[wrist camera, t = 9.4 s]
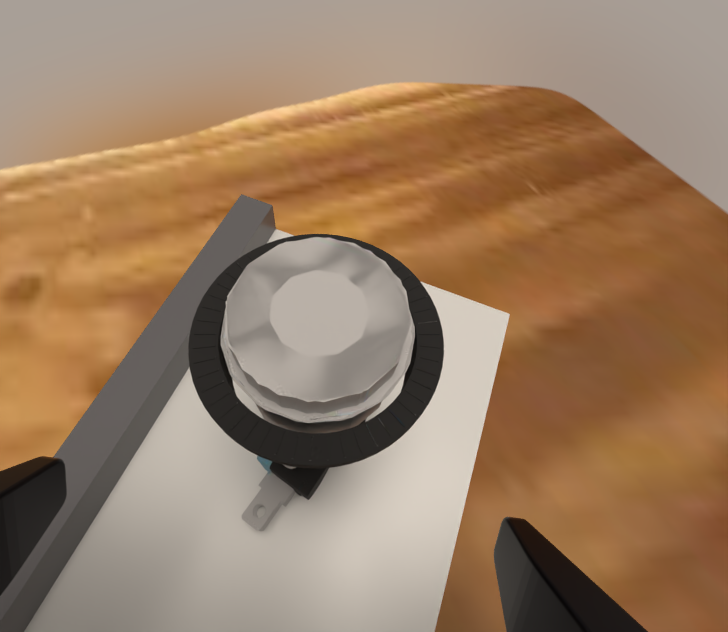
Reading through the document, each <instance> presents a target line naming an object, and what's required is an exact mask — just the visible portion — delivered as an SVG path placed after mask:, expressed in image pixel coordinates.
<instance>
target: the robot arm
mask: <svg viewBox="0 0 728 632" xmlns="http://www.w3.org/2000/svg"><path fill="white" fill-rule="evenodd" d="M66 497H67V482H66V467H65V463H64V461H63V460H62V459H60V458H53V457H44V456H42V457H37V458H35V459H32V460H29V461H27V462H24V463H21V464H19V465H16V466H13V467H11V468H8V469H5V470H3V471H0V596H1V595H2V593H3V592H4V591H5V590H6V588H7V587H8V586H9V584H10V583H11V582H12V580H13V579H14V578H15V576H16V575H17V573H18V572H19V571H20V569H21V568H22V566H23V565H24V563H25V562H26V560H27V559H28V557H29V556H30V554H31V553H32V551H33V550H34V548H35V547H36V545H37V544H38V542H39V541H40V539H41V538H42V536H43V535H44V533H45V532H46V530H47V529H48V527H49V526H50V524H51V523H52V521H53V520H54V518H55V517H56V515H57V514H58V512H59V511H60V509H61V508H62V506H63V505H64V503H65V500H66ZM494 562H495V568H496V574H497V579H498V585H499V591H500V597H501V602H502V608H503V614H504V620H505V625H506V631H507V632H648V631H647V630H646V629H644V628H643V627H642V626H641V625H640V624H639V623H638V622H637V621H636V620H635V619H633V618H632V617H631V616H630V615H629V614H628V613H627V612H626V611H625V610H624V609H623V608H621V607H620V606H619V605H618V604H617V603H616V602H615V601H614V600H613V599H612V598H611V597H609V596H608V595H607V594H606V593H605V592H604V591H603V590H602V589H601V588H600V587H599V586H597V585H596V584H595V583H594V582H593V581H592V580H591V579H590V578H589V577H588V576H586V575H585V574H584V573H583V572H582V571H581V570H580V569H579V568H578V567H577V566H576V565H574V564H573V563H572V562H571V561H570V560H569V559H568V558H567V557H566V556H565V555H564V554H562V553H561V552H560V551H559V550H558V549H557V548H556V547H555V546H554V545H553V544H551V543H550V542H549V541H548V540H547V539H546V538H545V537H544V536H543V535H542V534H541V533H539V532H538V531H537V530H536V529H535V528H534V527H533V526H532V525H531V524H530V523H529V522H527V521H526V520H524V519H521V518H513V517H506V518H504V519H503V521H502V523H501V527H500V530H499V534H498V537H497V541H496V545H495V549H494Z"/></svg>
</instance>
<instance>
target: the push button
mask: <svg viewBox="0 0 728 632" xmlns="http://www.w3.org/2000/svg"><path fill="white" fill-rule="evenodd" d="M188 357H189V366H190V372H191V376H192V380H193V384H194V386H195V389H196V391H197V394H198V396H199V398H200V400H201V402H202V404H203V406H204V407H205V409H206V410H207V412H208V413H209V414H210V416H211V417H212V419H213V420H214V421H215V422H216V423H217V424H218V426H219V427H220V428H221V429H222V430H223V431H224V432H225V433H226V434H227V435H228V436H229V437H230V438H232V439H233V440H234V441H235V442H236V443H238V444H239V445H241V446H242V447H244V448H245V449H247V450H248V451H250V452H252V453H254V454H256V455H258V456H257V460H258V461H259V462H260V463H261V465H262V466H263V467H264V469H265V470H267V471H268V473H267V474H266V475H265V477H264V478H263V479H262V481H261V482H260V483H259V485H258V486H260V487H261V489H260V491H259V492H258V494H257V495H256V496H255V498H254V499H253V500H252V502H251V503H250V504H249V506H248V507H247V508H246V510H245V511H244V512H243V514H242V520H244V521H245V522H246V523H248V524H249V525H250V526H251V527H253V528H254V529H255V530H256V531H258V530H259V531H264V530H265V528H266V527H267V526H268V524H269V523H270V521H271V520H272V518H273V517H274V516H275V514H276V513H277V511H278V510H279V508H280V507H281V506H282V505H284V506H285V507H286V506H287V504H288V503H289V502H290V500H291V499H292V497H293V496H294V494H295V493H297V494H298V495H300V496H303V497H305V498H306V499H307V500H309V499H310V498H311V497H312V495H313V494H314V493H315V491H316V490H317V488H318V487H319V485H320V484H321V482H322V480H323V478H324V477H325V475H326V473H327V471H328V469H329V468H332V467H338V466H343V465H348V464H352V463H355V462H358V461H361V460H364V459H366V458H368V457H371V456H373V455H375V454H377V453H379V452H380V451H382V450H384V449H386V448H387V447H389V446H390V445H392V444H393V443H394V442H396V441H397V440H398V439H400V438H401V437H402V436H403V435H404V434H405V433H406V432H407V431H408V430H409V429H410V428H411V427H412V426H413V425H414V423H415V422H416V421H417V420H418V419H419V417H420V416H421V415H422V413H423V412H424V410H425V409H426V407H427V406H428V404H429V403H430V401H431V399H432V397H433V395H434V393H435V390H436V388H437V385H438V382H439V379H440V375H441V371H442V367H443V358H444V339H443V331H442V326H441V322H440V318H439V315H438V313H437V310H436V307H435V305H434V303H433V301H432V299H431V297H430V295H429V294H428V292H427V291H426V289H425V287H424V286H423V285H422V283H421V282H420V281H419V280H418V278H417V277H416V276H415V275H414V274H413V273H412V272H411V271H410V270H409V269H408V268H407V267H406V266H405V265H403V264H402V263H401V262H400V261H398V260H397V259H396V258H394V257H393V256H391V255H390V254H388V253H386V252H385V251H383V250H381V249H379V248H377V247H375V246H373V245H370V244H368V243H365V242H362V241H359V240H356V239H352V238H348V237H343V236H338V235H328V234H307V235H298V236H291V237H287V238H283V239H279V240H276V241H273V242H269V243H267V244H264V245H262V246H260V247H257V248H255V249H254V250H252V251H250V252H248V253H246V254H245V255H243V256H242V257H240V258H239V259H237V260H236V261H235V262H233V263H232V264H231V265H230V266H228V267H227V268H226V269H225V270H224V271H223V272H222V273H221V274H220V275H219V276H218V277H217V278H216V280H215V281H214V282H213V283H212V284H211V286H210V287H209V289H208V290H207V292H206V293H205V295H204V296H203V298H202V300H201V302H200V304H199V306H198V308H197V310H196V313H195V316H194V318H193V322H192V326H191V330H190V336H189V345H188ZM404 374H405V376H404V382H403V386H402V390H401V393H400V394H399V395H398V396H397V398H396V399H395V400H394V401H393V402H392V403H391V404H390V405H389V406H388V407H387V408H386V409H385V410H383V411H382V412H381V413H379V414H378V415H376V416H375V417H374V418H372V419H370V420H368V421H366V418H367V417H368V416H370V415H371V414H372V413H373V412H374V411H376V410H377V409H378V408H379V407H380V405H381V402H382V401H383V400H384V399H385V398H386V397H387V396H389V394H390V393H391V392H392V390H393V389H394V388H395V386H396V385H397V384H398V382H399V381H400V379H401V378H402V377H403V375H404ZM232 378H233V379H232ZM233 380H234V382H235V383H236V384H237V385H238V386H239V387H240V388H241V389H242V390H243V391H244V392H245V393H246V394H247V395H248V396H249V397H250V398H251V399H252V400H253V401H254V402H255V404H256V406H257V408H258V409H259V411H260V412H261V414H262V416H263V418H264V419H262V418H260V417H259V416H258V415H256V414H255V413H253V412H252V411H251V410H250V409H248V408H247V407H246V406H245V405H244V404H243V403H242V402H241V401H240V400H239V398H238V397H237V396H236V393H235V389H234V386H233ZM365 421H366V422H365ZM262 506H264V507H265V509H266V512H265V514H264V515H263V516H262V517H260V518H258V516H257V511H258V509H259V508H260V507H262Z"/></svg>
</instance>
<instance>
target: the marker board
mask: <svg viewBox="0 0 728 632" xmlns="http://www.w3.org/2000/svg"><path fill="white" fill-rule="evenodd" d="M291 236H294V235H291V234H288V233H285V232H283V231H280V230H277V229H276V227H275V220H274V213H273V206H272V205H270V204H267V203H264V202H261V201H258V200H256V199H253V198H250V197H247V196H244V195H242V194H241V196H240V197H239V199H238V200H237V201H236V203H235V204H234V206H233V207H232V208H231V210H230V211H229V213H228V214H227V215H226V217H225V218H224V219H223V221H222V222H221V224H220V225H219V226H218V228H217V229H216V231H215V232H214V233H213V235H212V236H211V238H210V239H209V240H208V242H207V243H206V245H205V246H204V247H203V249H202V250H201V252H200V253H199V254H198V256H197V257H196V259H195V260H194V261H193V263H192V264H191V266H190V267H189V268H188V270H187V271H186V273H185V274H184V275H183V277H182V278H181V280H180V281H179V282H178V284H177V285H176V287H175V288H174V289H173V291H172V292H171V294H170V295H169V296H168V298H167V299H166V301H165V302H164V303H163V305H162V306H161V308H160V309H159V310H158V312H157V313H156V315H155V316H154V317H153V319H152V320H151V321H150V323H149V324H148V326H147V327H146V328H145V330H144V331H143V333H142V334H141V335H140V337H139V338H138V340H137V341H136V342H135V344H134V345H133V347H132V348H131V349H130V351H129V352H128V354H127V355H126V356H125V358H124V359H123V361H122V362H121V363H120V365H119V366H118V368H117V369H116V370H115V372H114V373H113V375H112V376H111V377H110V379H109V380H108V382H107V383H106V384H105V386H104V387H103V389H102V390H101V391H100V393H99V394H98V396H97V397H96V398H95V400H94V401H93V403H92V404H91V405H90V407H89V408H88V410H87V411H86V412H85V414H84V415H83V417H82V418H81V419H80V421H79V422H78V424H77V425H76V426H75V428H74V429H73V430H72V432H71V433H70V435H69V436H68V437H67V439H66V440H65V442H64V443H63V444H62V446H61V447H60V449H59V450H58V451H57V453H56V454H55V456H54V457H53V458H60V459H62V460H63V461H64V463H65V467H66V482H67V497H66V500H65V503H64V505H63V506H62V508H61V509H60V511H59V512H58V514H57V515H56V517H55V518H54V520H53V521H52V523H51V524H50V526H49V527H48V529H47V530H46V532H45V533H44V535H43V536H42V538H41V539H40V541H39V542H38V544H37V545H36V547H35V548H34V550H33V551H32V553H31V554H30V556H29V557H28V559H27V560H26V562H25V563H24V565H23V566H22V568H21V569H20V571H19V572H18V573H17V575H16V576H15V578H14V579H13V580H12V582H11V583H10V584H9V586H8V587H7V588H6V590H5V591H4V592H3V593H2V595H1V596H0V632H435V628H436V623H437V619H438V615H439V611H440V606H441V602H442V598H443V594H444V590H445V585H446V581H447V577H448V573H449V568H450V564H451V560H452V556H453V552H454V547H455V543H456V539H457V535H458V530H459V526H460V522H461V518H462V514H463V509H464V505H465V501H466V497H467V492H468V488H469V484H470V480H471V476H472V471H473V467H474V463H475V459H476V454H477V450H478V446H479V442H480V438H481V433H482V429H483V425H484V421H485V416H486V412H487V408H488V404H489V400H490V395H491V391H492V387H493V383H494V378H495V374H496V370H497V366H498V362H499V357H500V353H501V349H502V345H503V340H504V336H505V332H506V328H507V324H508V319H509V315H510V314H508V313H505V312H502V311H500V310H497V309H494V308H491V307H489V306H486V305H483V304H480V303H478V302H475V301H472V300H469V299H467V298H464V297H461V296H458V295H456V294H453V293H450V292H447V291H445V290H442V289H439V288H436V287H434V286H431V285H428V284H425V283H423V282H421V283H422V285H423V286H424V287H425V289H426V291H427V292H428V294H429V295H430V297H431V299H432V301H433V303H434V305H435V307H436V310H437V313H438V315H439V318H440V322H441V326H442V331H443V339H444V358H443V367H442V371H441V375H440V379H439V382H438V385H437V388H436V390H435V393H434V395H433V397H432V399H431V401H430V403H429V404H428V406H427V407H426V409H425V410H424V412H423V413H422V415H421V416H420V417H419V419H418V420H417V421H416V422H415V423H414V425H413V426H412V427H411V428H410V429H409V430H408V431H407V432H406V433H405V434H404V435H403V436H402V437H401V438H400V439H398V440H397V441H396V442H394V443H393V444H392V445H390V446H389V447H387V448H386V449H384V450H382V451H380V452H379V453H377V454H375V455H373V456H371V457H368V458H366V459H364V460H361V461H358V462H355V463H352V464H348V465H343V466H338V467H332V468H329V469H328V471H327V473H326V475H325V477H324V478H323V480H322V482H321V484H320V485H319V487H318V488H317V490H316V491H315V493H314V494H313V495H312V497H311V498H310V499H309V500H307V499H306V498H305V497H303V496H300V495H298V494H297V493H295V494H294V496H293V497H292V499H291V500H290V502H289V503H288V504H287V506H286V507H285V506H284V505H282V506H281V507H280V508H279V510H278V511H277V513H276V514H275V516H274V517H273V518H272V520H271V521H270V523H269V524H268V526H267V527H266V528H265V530H264V531H259V530H258V531H256V530H255V529H254V528H253V527H251V526H250V525H249V524H248V523H246V522H245V521H244V520H242V514H243V512H244V511H245V510H246V508H247V507H248V506H249V504H250V503H251V502H252V500H253V499H254V498H255V496H256V495H257V494H258V492H259V491H260V489H261V487H260V486H258V485H259V483H260V482H261V481H262V479H263V478H264V477H265V475H266V474H267V473H268V471H267V470H265V469H264V467H263V466H262V465H261V463H260V462H259V461H258V460H257V456H258V455H256V454H254V453H252V452H250V451H248V450H247V449H245V448H244V447H242V446H241V445H239V444H238V443H236V442H235V441H234V440H233V439H232V438H230V437H229V436H228V435H227V434H226V433H225V432H224V431H223V430H222V429H221V428H220V427H219V426H218V424H217V423H216V422H215V421H214V420H213V419H212V417H211V416H210V414H209V413H208V412H207V410H206V409H205V407H204V406H203V404H202V402H201V400H200V398H199V396H198V394H197V391H196V389H195V386H194V384H193V380H192V376H191V372H190V366H189V357H188V345H189V336H190V330H191V326H192V322H193V318H194V316H195V313H196V310H197V308H198V306H199V304H200V302H201V300H202V298H203V296H204V295H205V293H206V292H207V290H208V289H209V287H210V286H211V284H212V283H213V282H214V281H215V280H216V278H217V277H218V276H219V275H220V274H221V273H222V272H223V271H224V270H225V269H226V268H227V267H228V266H230V265H231V264H232V263H233V262H235V261H236V260H237V259H239V258H240V257H242V256H243V255H245V254H246V253H248V252H250V251H252V250H254V249H255V248H257V247H260V246H262V245H264V244H267V243H269V242H273V241H276V240H279V239H283V238H287V237H291ZM404 376H405V374H404V375H403V377H402V378H401V379H400V381H399V382H398V384H397V385H396V386H395V388H394V389H393V390H392V392H391V393H390V394H389V396H387V397H386V398H385V399H384V400H383V401H382V402H381V405H380V407H379V408H378V409H377V410H376V411H374V412H373V413H372V414H371V415H370V416H368V417H367V418H366V421H368V420H370V419H372V418H374V417H375V416H376V415H378V414H379V413H381V412H382V411H383V410H385V409H386V408H387V407H388V406H389V405H390V404H391V403H392V402H393V401H394V400H395V399H396V398H397V396H398V395H399V394H400V393H401V390H402V386H403V382H404ZM232 379H233V378H232ZM233 386H234V389H235V393H236V396H237V397H238V398H239V400H240V401H241V402H242V403H243V404H244V405H245V406H246V407H247V408H248V409H250V410H251V411H252V412H253V413H255V414H256V415H258V416H259V417H260V418H262V419H264V418H263V416H262V414H261V412H260V411H259V409H258V408H257V406H256V404H255V402H254V401H253V400H252V399H251V398H250V397H249V396H248V395H247V394H246V393H245V392H244V391H243V390H242V389H241V388H240V387H239V386H238V385H237V384H236V383H235V382H234V380H233ZM366 421H365V422H366ZM265 512H266V509H265V507H264V506H262V507H260V508H259V509H258V511H257V516H258V518H260V517H262V516H263V515H264V514H265Z"/></svg>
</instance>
